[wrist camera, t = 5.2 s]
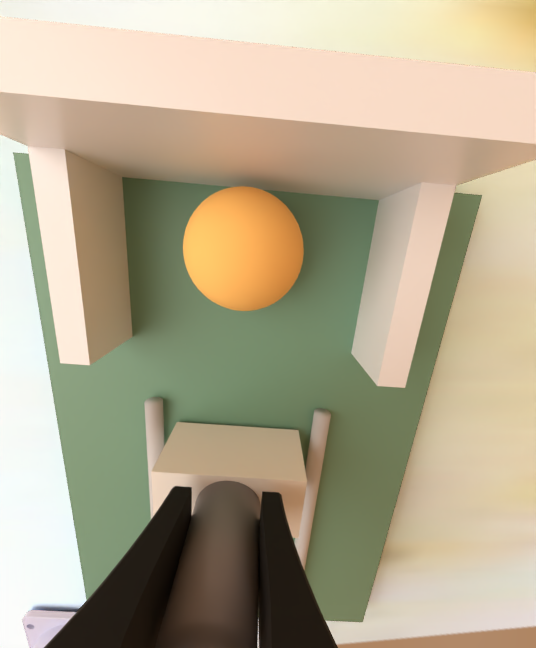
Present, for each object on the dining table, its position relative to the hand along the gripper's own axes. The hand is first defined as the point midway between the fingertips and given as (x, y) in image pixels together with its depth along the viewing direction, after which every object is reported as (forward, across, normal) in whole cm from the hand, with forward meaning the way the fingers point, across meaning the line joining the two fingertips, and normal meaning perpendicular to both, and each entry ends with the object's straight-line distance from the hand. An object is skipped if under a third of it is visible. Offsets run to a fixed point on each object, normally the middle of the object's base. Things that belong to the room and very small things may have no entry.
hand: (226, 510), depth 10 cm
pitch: (+5, 0, +1) cm, 5 cm away
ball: (+2, 0, -9) cm, 9 cm away
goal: (+4, 0, -9) cm, 10 cm away
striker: (+4, 0, +1) cm, 4 cm away
